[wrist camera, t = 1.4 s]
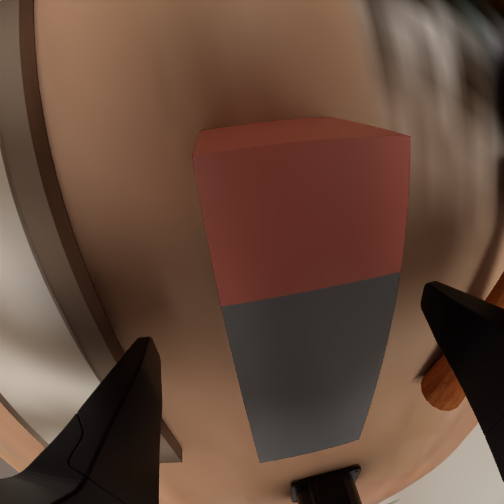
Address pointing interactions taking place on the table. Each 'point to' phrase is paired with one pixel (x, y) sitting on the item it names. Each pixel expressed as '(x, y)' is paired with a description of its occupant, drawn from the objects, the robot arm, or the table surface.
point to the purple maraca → (441, 375)
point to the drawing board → (43, 263)
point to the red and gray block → (305, 269)
